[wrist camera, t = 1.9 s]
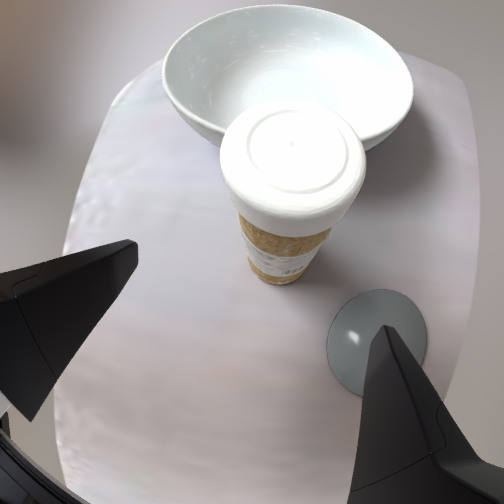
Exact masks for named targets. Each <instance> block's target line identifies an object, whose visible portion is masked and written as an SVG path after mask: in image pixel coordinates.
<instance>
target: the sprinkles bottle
mask: <svg viewBox="0 0 504 504" xmlns="http://www.w3.org/2000/svg"><path fill="white" fill-rule="evenodd" d="M220 165H221V170H222V175H223V179H224V183H225V186H226V190H227V193H228V196H229V198H230V200H231V202H232V204H233V206H234V207H235V209H236V210H237V211H238V219H239V224H240V227H241V231H242V235H243V239H244V243H245V247H246V251H247V254H248V261H249V264H250V267H251V269H252V271H253V272H254V273H255V274H256V275H257V277H259V278H260V279H262V280H263V281H265V282H267V283H270V284H276V285H283V284H286V283H290V282H292V281H294V280H296V279H298V278H299V277H300V276H301V275H302V274H303V273H304V272H305V270H306V268H307V266H308V264H309V263H310V262H311V260H312V259H313V258H314V256H315V255H316V253H317V252H318V250H319V249H320V247H321V246H322V244H323V243H324V241H325V240H326V238H327V237H328V235H329V233H330V231H331V228H332V226H333V225H335V224H336V223H337V222H338V221H339V220H341V219H342V217H343V216H344V215H345V214H346V213H347V211H348V210H349V208H350V206H351V205H352V203H353V201H354V200H355V198H356V196H357V194H358V193H359V191H360V189H361V187H362V185H363V182H364V178H365V174H366V155H365V150H364V147H363V145H362V142H361V140H360V138H359V136H358V134H357V133H356V131H355V130H354V129H353V127H352V126H351V125H350V124H349V123H348V122H347V121H346V120H345V119H344V118H343V117H342V116H340V115H339V114H338V113H336V112H334V111H333V110H331V109H329V108H327V107H325V106H323V105H321V104H318V103H315V102H311V101H308V100H302V99H293V98H283V99H275V100H270V101H266V102H263V103H260V104H257V105H255V106H253V107H251V108H249V109H247V110H246V111H245V112H243V113H242V114H240V115H239V116H238V117H237V118H236V119H235V120H234V121H233V123H232V124H231V125H230V126H229V128H228V129H227V131H226V133H225V135H224V137H223V140H222V144H221V149H220Z"/></svg>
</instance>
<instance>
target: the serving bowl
mask: <svg viewBox="0 0 504 504" xmlns="http://www.w3.org/2000/svg"><path fill="white" fill-rule="evenodd" d="M161 75H162V83H163V87H164V90H165V93H166V95H167V97H168V98H169V100H170V102H171V103H172V105H173V106H174V108H175V109H176V111H177V112H178V113H179V115H180V116H181V117H182V118H183V119H184V120H185V122H186V123H187V124H188V125H189V126H190V127H191V128H192V129H194V130H195V131H196V132H197V133H199V134H200V135H201V136H202V137H204V138H205V139H207V140H208V141H210V142H212V143H213V144H215V145H217V146H219V147H221V144H222V140H223V137H224V135H225V133H226V131H227V129H228V128H229V126H230V125H231V124H232V123H233V121H234V120H235V119H236V118H237V117H238V116H239V115H240V114H242V113H243V112H245V111H246V110H247V109H249V108H251V107H253V106H255V105H257V104H260V103H263V102H266V101H270V100H275V99H283V98H293V99H302V100H308V101H311V102H315V103H318V104H321V105H323V106H325V107H327V108H329V109H331V110H333V111H334V112H336V113H338V114H339V115H340V116H342V117H343V118H344V119H345V120H346V121H347V122H348V123H349V124H350V125H351V126H352V127H353V129H354V130H355V131H356V133H357V134H358V136H359V138H360V140H361V142H362V145H363V147H364V150H365V151H367V150H369V149H370V148H372V147H374V146H376V145H377V144H379V143H380V142H381V141H383V140H384V139H385V138H387V137H388V136H389V135H390V134H391V133H392V132H393V131H394V130H395V129H396V128H397V127H398V126H399V125H400V123H401V122H402V121H403V120H404V119H405V117H406V116H407V114H408V113H409V111H410V109H411V106H412V103H413V98H414V85H413V80H412V77H411V74H410V72H409V69H408V68H407V66H406V64H405V63H404V61H403V59H402V58H401V57H400V55H399V54H398V53H397V52H396V51H395V50H394V48H392V47H391V45H390V44H389V43H387V42H386V41H385V40H384V39H382V38H381V37H380V36H379V35H377V34H376V33H374V32H373V31H371V30H370V29H368V28H366V27H365V26H363V25H361V24H359V23H357V22H355V21H353V20H351V19H348V18H346V17H343V16H340V15H337V14H334V13H331V12H327V11H324V10H320V9H315V8H310V7H304V6H295V5H261V6H251V7H245V8H239V9H235V10H231V11H228V12H225V13H222V14H219V15H216V16H214V17H211V18H209V19H207V20H205V21H203V22H201V23H199V24H197V25H196V26H194V27H192V28H191V29H189V30H188V31H187V32H185V33H184V34H183V35H182V36H181V37H180V38H179V39H178V40H177V41H176V42H175V43H174V44H173V45H172V47H171V48H170V50H169V51H168V53H167V55H166V57H165V59H164V62H163V66H162V74H161Z"/></svg>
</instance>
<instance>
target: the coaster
mask: <svg viewBox="0 0 504 504" xmlns="http://www.w3.org/2000/svg"><path fill="white" fill-rule="evenodd" d="M382 325H389V326H392V327H394V328H395V329H396V331H397V332H398V333H399V335H400V336H401V338H402V339H403V341H404V342H405V344H406V345H407V347H408V348H409V350H410V351H411V353H412V354H413V356H414V357H415V359H416V360H417V362H418V363H419V365H421V363H422V360H423V358H424V354H425V350H426V342H427V335H426V327H425V323H424V320H423V317H422V315H421V313H420V311H419V310H418V308H417V307H416V305H415V304H414V303H413V302H412V301H411V300H410V299H409V298H407V297H406V296H404V295H403V294H400V293H398V292H395V291H392V290H386V289H379V290H373V291H369V292H366V293H363V294H361V295H359V296H357V297H355V298H353V299H352V300H350V301H349V302H348V303H347V304H346V305H345V306H344V307H343V308H342V309H341V310H340V311H339V313H338V314H337V315H336V317H335V319H334V320H333V323H332V325H331V327H330V330H329V334H328V338H327V358H328V363H329V366H330V369H331V371H332V373H333V375H334V376H335V378H336V379H337V380H338V381H339V382H340V383H341V384H342V385H343V386H344V387H345V388H347V389H348V390H349V391H351V392H353V393H355V394H357V395H360V396H363V388H364V380H365V374H366V368H367V362H368V355H369V349H370V344H371V341H372V339H373V338H374V336H375V335H376V334H377V332H378V331H379V329H380V328H381V326H382Z"/></svg>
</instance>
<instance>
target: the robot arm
mask: <svg viewBox="0 0 504 504" xmlns="http://www.w3.org/2000/svg"><path fill="white" fill-rule="evenodd" d="M137 265H138V244H137V243H136V242H135V241H132V240H129V239H126V240H122V241H118V242H114V243H110V244H106V245H103V246H99V247H95V248H91V249H88V250H84V251H80V252H77V253H73V254H70V255H66V256H63V257H59V258H56V259H52V260H49V261H47V262H42V263H39V264H35V265H32V266H28V267H25V268H20V269H16V270H12V271H8V272H4V273H0V504H90V503H88V502H87V501H85V500H84V499H82V498H81V497H79V496H78V495H76V494H75V493H74V492H72V491H71V490H69V489H68V488H67V487H65V486H64V485H63V484H61V483H60V482H59V481H57V480H56V479H55V478H53V477H52V476H51V475H50V474H48V473H47V472H46V471H45V470H43V469H42V468H41V467H40V466H39V465H38V464H36V463H35V462H34V461H33V460H32V459H31V458H30V457H29V456H27V455H26V454H25V453H24V452H23V451H22V450H21V449H20V448H19V447H18V446H17V445H16V444H15V443H14V442H13V441H12V440H11V437H10V429H9V418H8V413H7V412H6V410H7V409H8V408H9V406H10V405H11V404H12V405H13V406H14V407H15V408H16V409H17V410H18V411H19V412H20V413H21V414H22V415H23V416H24V417H25V418H26V419H27V420H28V421H30V422H31V421H32V420H33V419H34V417H35V415H36V414H37V412H38V410H39V409H40V407H41V406H42V404H43V402H44V401H45V399H46V398H47V396H48V394H49V393H50V391H51V390H52V388H53V387H54V385H55V383H56V382H57V380H58V379H59V377H60V376H61V374H62V373H63V371H64V370H65V368H66V367H67V365H68V364H69V362H70V361H71V359H72V358H73V357H74V355H75V354H76V352H77V351H78V349H79V348H80V347H81V345H82V344H83V342H84V341H85V340H86V338H87V337H88V335H89V334H90V333H91V331H92V330H93V329H94V327H95V326H96V325H97V323H98V322H99V321H100V319H101V318H102V317H103V315H104V314H105V313H106V311H107V310H108V309H109V307H110V306H111V305H112V304H113V302H114V301H115V300H116V298H117V297H118V295H119V294H120V292H121V291H122V289H123V288H124V286H125V284H126V283H127V281H128V280H129V278H130V277H131V275H132V274H133V272H134V270H135V269H136V267H137ZM347 504H504V468H501V467H498V466H495V465H492V464H489V463H487V462H485V461H483V460H482V459H481V458H480V457H478V455H477V454H476V453H475V451H474V450H473V448H472V447H471V445H470V444H469V442H468V441H467V439H466V438H465V436H464V435H463V433H462V432H461V430H460V429H459V427H458V426H457V424H456V423H455V421H454V420H453V418H452V417H451V415H450V413H449V412H448V410H447V408H446V407H445V405H444V403H443V401H441V398H440V397H439V395H438V393H437V392H436V390H435V388H434V387H433V385H432V384H431V382H430V380H429V379H428V377H427V376H426V374H425V373H424V371H423V369H422V368H421V366H420V365H419V363H418V362H417V360H416V359H415V357H414V356H413V354H412V353H411V351H410V350H409V348H408V347H407V345H406V344H405V342H404V341H403V339H402V338H401V336H400V335H399V333H398V332H397V331H396V329H395V328H394V327H392V326H389V325H382V326H381V328H380V329H379V331H378V332H377V334H376V335H375V336H374V338H373V339H372V341H371V344H370V349H369V355H368V362H367V368H366V374H365V380H364V388H363V401H362V412H361V422H360V430H359V438H358V446H357V453H356V459H355V465H354V471H353V477H352V482H351V487H350V493H349V496H348V501H347Z"/></svg>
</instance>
